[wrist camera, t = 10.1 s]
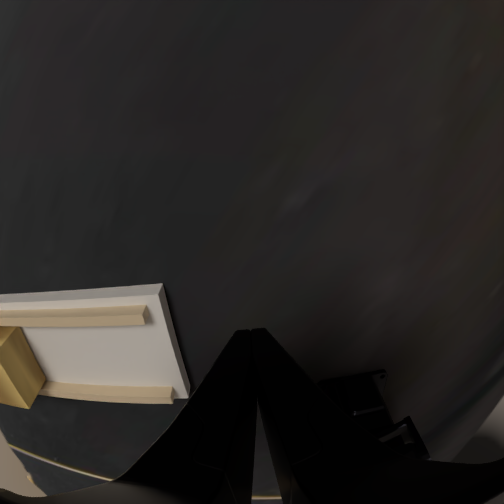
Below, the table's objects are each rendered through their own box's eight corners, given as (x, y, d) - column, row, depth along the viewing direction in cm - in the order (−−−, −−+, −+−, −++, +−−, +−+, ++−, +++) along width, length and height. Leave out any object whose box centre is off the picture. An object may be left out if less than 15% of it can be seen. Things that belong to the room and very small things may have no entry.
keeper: (18, 324, 21) (-5, 353, 17) (46, 378, 23) (29, 409, 20) (-23, 323, 21) (-45, 348, 17) (4, 373, 23) (-13, 399, 20)
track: (162, 283, 22) (143, 330, 17) (190, 385, 26) (183, 436, 21) (-36, 296, 22) (-67, 325, 17) (4, 375, 26) (-17, 408, 20)
